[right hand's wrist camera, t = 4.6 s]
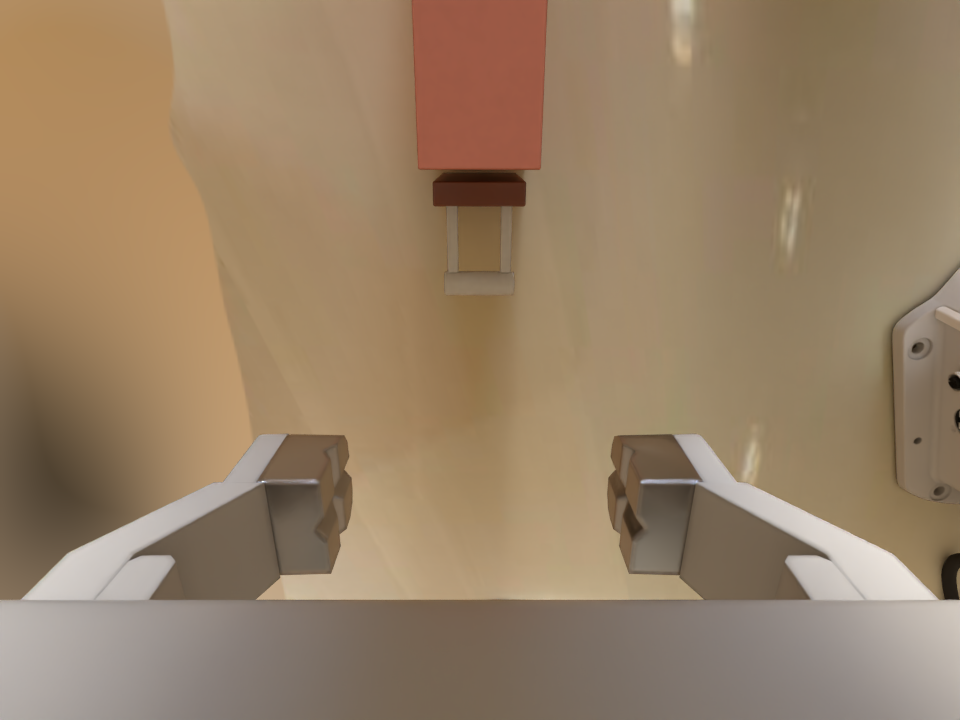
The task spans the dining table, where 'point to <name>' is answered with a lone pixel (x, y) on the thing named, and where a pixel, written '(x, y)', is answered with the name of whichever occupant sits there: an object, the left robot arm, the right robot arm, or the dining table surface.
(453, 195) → the drawer
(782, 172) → the dining table surface
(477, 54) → the long terracotta box
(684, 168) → the dining table surface
